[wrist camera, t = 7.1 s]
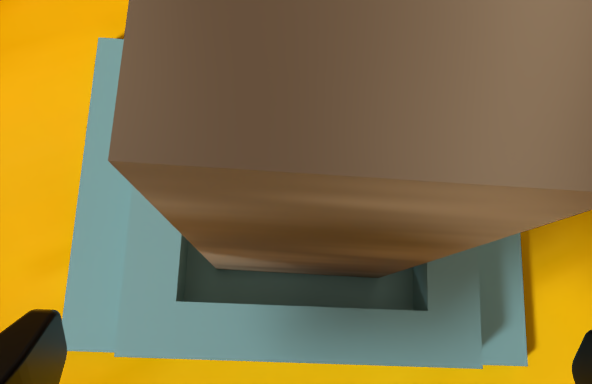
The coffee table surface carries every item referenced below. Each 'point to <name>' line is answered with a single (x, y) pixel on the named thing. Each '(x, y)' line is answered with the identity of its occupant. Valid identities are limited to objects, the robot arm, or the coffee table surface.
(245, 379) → the coffee table surface
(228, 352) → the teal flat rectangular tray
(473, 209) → the block
